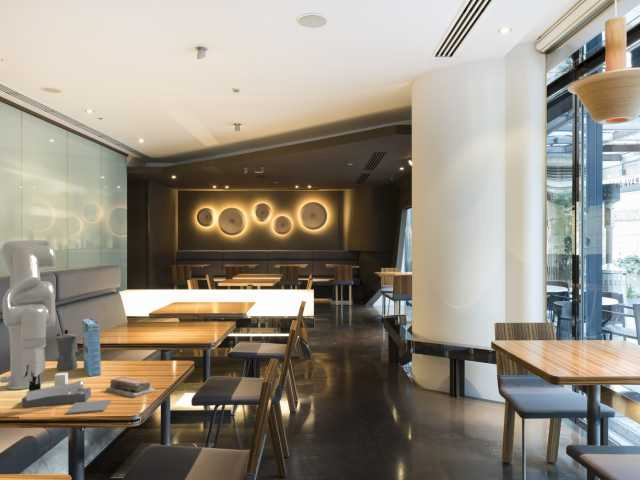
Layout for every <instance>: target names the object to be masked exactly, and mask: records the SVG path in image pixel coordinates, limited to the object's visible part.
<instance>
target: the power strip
mask: <svg viewBox="0 0 640 480" xmlns="http://www.w3.org/2000/svg"><path fill="white" fill-rule="evenodd" d="M91 395H92V394H91V387H86V388H84V387H83V390H81V391H75V392H71V393H70V394H69V395H59V396H49V397H44V398H39V399H34V400H29V401H27V394H26V395H25V396H24V397H22V398H21V408H31V407H42V406H45V405H46V406H55V405H57V406H58V405H68V404H74V403H78V402H88V401H89V398H91ZM46 406H45V407H46Z"/></svg>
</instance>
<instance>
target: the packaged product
mask: <svg viewBox="0 0 640 480" xmlns="http://www.w3.org/2000/svg"><path fill="white" fill-rule="evenodd" d="M150 385H151V383H150V382H149V381H145V380H140V379H136V378H133V377H129V376H128V377H127V376H120V377H117V378H116V377H115V378H113V379H111V380H110V386H109V387H107V388H106V392H109V393H113V394H117V395H120V396H126V397H129V398H139V397H142V396H145V395H149V394H150V393H154V392H156V391H157V388H153V387H150Z"/></svg>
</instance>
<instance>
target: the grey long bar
mask: <svg viewBox="0 0 640 480" xmlns="http://www.w3.org/2000/svg"><path fill="white" fill-rule="evenodd" d="M83 383H84V381H83V380H80V381H79V380H78V381H75V382H68V384H63V385H58V386H55V385H51V386H48V387H41V389H36V390H31V391H29V390H26V395H27V401H29V400H34V399H39V398H44V397H49V396H54V395H59V394H64V393H69V392H75V391H81V390H83V388H84V384H83Z"/></svg>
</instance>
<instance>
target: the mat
mask: <svg viewBox="0 0 640 480" xmlns="http://www.w3.org/2000/svg"><path fill="white" fill-rule="evenodd" d="M111 402H112V401H111V399H105V400H104V399H103V400H93V401H91V400H90V401H86V402H78V403H72V405H71V407H70V408H68V409H67V410H66V412H65V415H76V413H78V414H87V413H88V412H90V413H101V412H104V411H105V410H106V409H107V408H108V406H109V405H110V403H111Z"/></svg>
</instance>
